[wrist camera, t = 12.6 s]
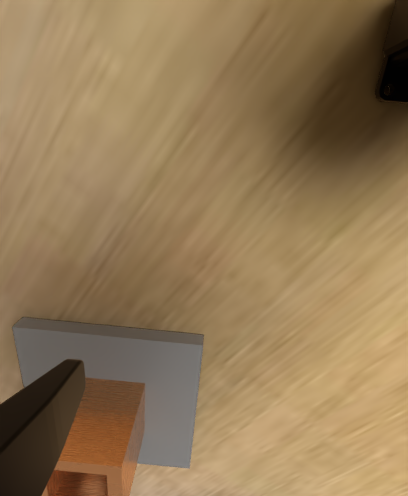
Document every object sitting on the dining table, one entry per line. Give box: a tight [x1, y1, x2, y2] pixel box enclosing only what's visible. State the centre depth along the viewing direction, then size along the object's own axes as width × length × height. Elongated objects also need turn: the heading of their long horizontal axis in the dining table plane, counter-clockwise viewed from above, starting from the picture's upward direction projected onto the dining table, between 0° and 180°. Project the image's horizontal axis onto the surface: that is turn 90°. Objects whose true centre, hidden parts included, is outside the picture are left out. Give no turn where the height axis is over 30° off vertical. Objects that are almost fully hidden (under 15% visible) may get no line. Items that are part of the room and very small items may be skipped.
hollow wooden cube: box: [42, 377, 145, 496], centre depth 20 cm, size 6×6×6 cm
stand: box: [12, 317, 204, 468], centre depth 22 cm, size 14×14×5 cm
